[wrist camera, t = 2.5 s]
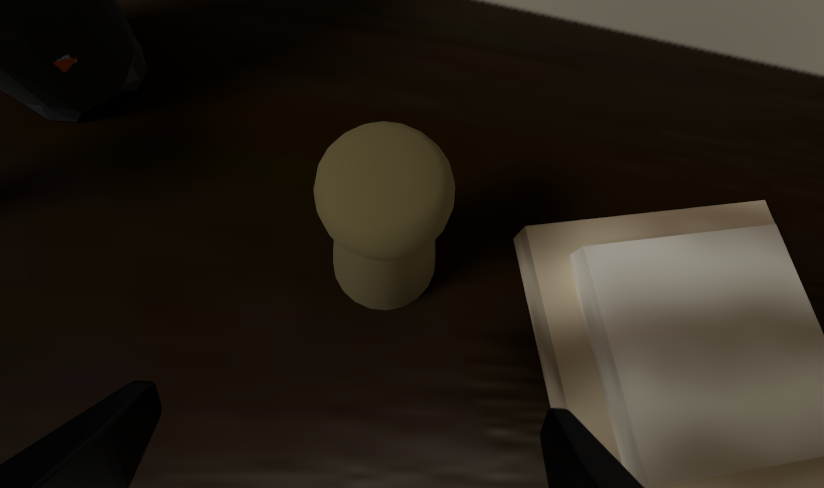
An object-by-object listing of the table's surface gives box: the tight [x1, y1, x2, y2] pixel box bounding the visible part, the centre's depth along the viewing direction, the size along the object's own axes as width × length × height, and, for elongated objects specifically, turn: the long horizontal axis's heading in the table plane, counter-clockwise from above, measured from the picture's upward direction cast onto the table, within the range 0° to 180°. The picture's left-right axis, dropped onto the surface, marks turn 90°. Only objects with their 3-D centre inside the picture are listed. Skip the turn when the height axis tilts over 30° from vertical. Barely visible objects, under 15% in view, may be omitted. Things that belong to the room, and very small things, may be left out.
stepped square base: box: [513, 200, 824, 488], centre depth 22 cm, size 15×15×4 cm
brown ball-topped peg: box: [314, 121, 455, 310], centre depth 19 cm, size 6×6×11 cm
